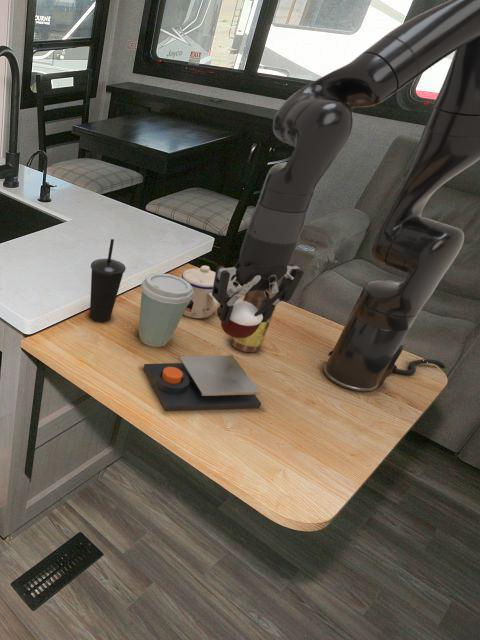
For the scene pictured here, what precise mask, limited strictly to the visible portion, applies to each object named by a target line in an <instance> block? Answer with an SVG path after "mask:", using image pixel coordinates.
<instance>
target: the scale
mask: <svg viewBox="0 0 480 640" xmlns="http://www.w3.org/2000/svg"><path fill="white" fill-rule="evenodd" d="M166 367H175V368H178V369H179V370H181V371H182V373H183V376H182V379H181V382H180V383H179V384H171V383H168V382H166V381H164V380H163V379H162V373H163V370H164V368H166ZM142 370H143V371H144V373H145V375H146V377H147V380H148V381H149V383H150V385H151V387H152V388H153V391H154V393H155V395H156V397H157V399H158V401H159V403H160V405H161V406H162V409H163V410H164V412H190V411H191V412H193V411H224V410H229V411H230V410H252V409H253V410H255V409H256V410H257V409H258V410H260V407H261V405H262V402H261V401H260V399H259V398H258V397H257V396H256V394H253V395H218V396H201V394H200V392H199V391H198V389H197V388H196V386H195V384H194V383H193V381H192V380H191V378H190V376H189V375H188V373H187V372H186V370H185V368H184V367H183V365H182V364H181V362H167V363H166V362H165V363H144V365H143V369H142Z"/></svg>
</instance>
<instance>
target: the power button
mask: <svg viewBox="0 0 480 640" xmlns="http://www.w3.org/2000/svg"><path fill="white" fill-rule="evenodd" d="M182 376H183V373H182V371H181V370H179V369H178V368H175V367H166V368H164V370H163V373H162V379H163V380H164V381H166V382H168V383H171V384H179V383H180V382H181V379H182Z"/></svg>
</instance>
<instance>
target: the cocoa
mask: <svg viewBox="0 0 480 640" xmlns="http://www.w3.org/2000/svg"><path fill="white" fill-rule="evenodd" d="M288 289H289V286H286V287H284V288H282V289H281V290H280V291H279V292H278V293H277V294H276V295H275V296H274V297H272V298H271V299H270V300H269V301H268V302H267V303H266V304H265V305H264V306H263V307H262V308H261V309H260V310H258V309H257V308H256V307H255V306H254V305H253V304H251V303H249V302H247V301H243V300H242V299H238V300H237V301H236V302H235V303H234V304H233V306H234V307H233V310H232V313H231V316H230V319H229V322H228V323H222V322H221V321H220V327H221V328H222V330H223V332H224V333H225V334H227V335H228V336H229V337H231V336H232V337H234V338H246V337H249V336H251V335H252V334H253V333H254V332H255V331H256V330H257V329H258V327H259V325H260V322H261V321H262V319H263V315H262V313H263V312H264V311H265V310H266V309H267V308H268V307H269V306H271V305H272V304H273V303H274V302H275V301H276V300H277V299H278V298H279V297H280V296H282V295H283V294H284V293H285V292H286V291H287V290H288ZM218 310H219V307H217V309H216V314H217V313H218ZM232 337H231V338H232Z"/></svg>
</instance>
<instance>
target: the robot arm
mask: <svg viewBox="0 0 480 640" xmlns="http://www.w3.org/2000/svg"><path fill="white" fill-rule="evenodd" d="M453 53H454V54H453ZM451 54H453V57H452V59H451V61H450V65H449V67H448V70H447V72H446V75H445V78H444V80H443V83H442V85H441V87H440V90H439V92H438V93H437V96H436V98H435V101H434V102H433V105H432V108H431V111H430V113H429V116H428V117H427V120H426V123H425V126H424V128H423V131H422V134H421V137H420V140H419V142H418V145H417V147H416V150H415V153H414V155H413V157H412V159H411V163H410V165H409V167H408V169H407V172H406V174H405V176H404V179H403V181H402V184H401V185H400V187H399V189H398V192H397V194H396V196H395V198H394V199H393V202H392V203H391V205H390V207H389V209H388V211H387V213H386V215H385V217H384V218H383V221H382V223H381V225H380V227H379V229H378V231H377V232H376V235H375V237H374V240H373V243H372V248H371V255H372V257H373V259H374V260H375V261H377V262H379V263H380V264H382V265H385V266H387V267H389V268H392V269H394V270H397V271H399V272H402V273H404V274H407V277H406V278H405V280H393V279H378V280H372V281H370V282H367V283H366V284H365V285H364V287H363V288H362V290H361V292H360V294H359V296H358V298H357V300H356V302H355V304H354V307H353V308H352V311H351V313H350V314H349V316H348V319H347V320H346V323H345V324H344V327H343V329H342V331H341V333H340V335H339V337H338V339H337V341H336V343H335V345H334V347H333V349H332V350H330V351H329V353H328V355H327V357H328V360H327V362H326V363H325V365H324V366H323V373H324V375H325V376H326V377H327V379H329V380H330V381H331V382H333V383H335V384H336V385H338V386H340V387H342V388H345V389H348V390H350V391H354V392H355V391H357V392H365V393H366V392H372V391H374V390H376V389H377V388H378V387H382V386H383V384H384V383H385V381H386V380H387V378H388V377H390V376H391V374H392V372H393V373H396V374H399V375H413V374H415V373H416V371H417V369H416V367H415V366H416V365H423V364H431V365H436V366H438V367H439V368H441V369H446V368H447V367H446V365H445V363H443V362H442V361H439V360H436V359H430V358H429V359H427V358H424V359H423V358H422V359H416V360H413V361H410V362H409V363H408V368H409V369H400V368H398V366H397V365H396V362H397V361H398V359H399V357H400V355H401V354H402V352H403V351H404V345H403V344H402V343H403V341H404V340H405V338H406V336H407V334H408V333H409V331H410V329H411V327H412V325H413V324H414V322H415V320H416V319H417V317H418V315H419V314H420V312H421V311H422V309H423V307H424V306H425V304H426V303H427V301H428V300H429V299H430V298H431V297H432V295H433V293H434V291H435V290H436V289H437V287H438V285H439V283H440V282H441V281H442V279H443V277H444V276H445V274H446V273H447V271H449V269H450V268H451V266H452V265H453V263H454V261H455V259H457V257H458V255H459V253H460V251H461V249H462V247H463V244H464V242H465V234H464V231H463V230H462V229H461V228H459V227H456V226H454V225H453V226H452V225H451V224H447V223H444V222H440V221H437V220H435V219H431V218H429V217H425V216H422V215H423V214H422V213H423V210H424V209H425V206H426V204H427V203H428V201H429V200H430V198H431V197H432V196H433V194H434V193H435V192H436V191H437V190H438V189H440V188H441V187H442V186H443V185H444V184H446V183H447V182H448V181H450V180H451V179H453V178H454V177H456V176H457V175H459V174H461V172H463V171H464V170H466V169H468V168H469V167H472V165H474V164H475V163H476V162H478V161H480V0H447V1H444V2H443V3H441V4H439V5H436V6H433V7H432V8H430V9H428V10H426V11H424V12H421V13H419V14H418V15H416V16H414V17H412V18H410V19H408V20H407V21H405V22H403V23H402V24H400V25H398V26H396V27H395V28H394V29H392V30H391V31H389V32H388V33H386V34H385V35H384V36H382V37H381V38H380V39H379V40H377V41H376V42H375V43H374V44H372V45H371V46H369V47H367V49H365V50H364V51H363V52H362V53H361V54H359V55H358V56H357V57H355V58H354V59H353V60H352V61H351V62H348V63H347V64H345V65H343V66H342V67H340V68H337V69H335V70H333V71H331V72H329V73H327V74H325V75H324V76H322V77H320V78H317V79H316V80H314V81H312V82H310V83H309V84H307V85H305V86H304V87H302V88H300V89H299V90H297V91H295V92H294V93H293V94H292V95H290V96H289V97H288V98H287V99H286V100H285V101H284V102H283V103H282V105H280V107H279V108H278V110H277V111H276V113H275V115H274V118H273V121H272V131H273V134H274V136H275V137H276V138H277V139H278V140H279V141H280V142H282V143H284V144H285V145H286V144H287V145H289V146H292V147H293V148H294V150H293V152H292V154H291V156H290V157H289V159H288V161H286V162H279V163H276V164H274V165H273V166H272V167H270V169H269V170H268V172H267V174H266V175H265V179H264V181H263V184H262V188H261V189H260V190H261V191H260V193H259V198H258V199H257V203H256V205H255V206H254V209H253V211H252V214H251V216H250V220H249V222H248V225H247V228H246V232H245V235H244V237H243V241H242V244H241V247H240V251H239V258H238V261H237V262H236V263H235V265H234V266H231V267H224V266H223V265H219V266H217V267H216V269H215V272H216V274H215V279H214V285H213V290H212V296H213V297H214V298H215V299H216V300H217V302H218V304H219V306H218V308H219V310H218V313H217V312H216V315H217V318H218V319H219V321H220V323H221V322H222V323H228V322H229V319H230V316H231V313H232V310H233V307H234V306H233V304H234V303H235V302H236V301H237V300H240V298H243V297H245V294H246V293H247V292H248V291H254V290H260V291H264V295H265V297H266V299H263V300H262V302H261V305H260V308H259V310H260V309H261V308H262V307H263V306H264V305H265V304H266V303H267V302H268V301H269V300H270V299H271V298H272V297H274V296H275V295H276V294H277V293H278V292H279V291H280V290H281V289H282V288H284V287H286V286H289V289H288V290H287V291H286V292H285V293H284V294H283V295H282V296H280V297H279V298H278V299H277V300H276V301H275V302H274V303H273V304H272V305H271V306H269V307H268V308H267V309H266V310H265V311H264V312H263V313H262V315H263V319H262V321H261V322H267V320H268V319H270V317H271V315H272V313H273V314H274V312H273V310H274V308H275V309H276V307H275V305H276V306H277V305H278V304H279V303H280V302H285V303H286V302H289V301H290V300H291V299H292V297H293V295H294V293H295V291H296V289H297V287H298V286H299V283H300V281H301V279H302V277H303V275H304V273H305V272H304V270H303V269H301V268H300V267H299V266H298V265H296V264H295V263H292V264H291V261H292V258H293V256H294V253H295V251H296V248H297V246H298V243H299V241H300V237H301V235H302V232H303V230H304V227H305V224H306V221H307V215H308V212H309V210H310V209H309V208H310V206H311V203H312V201H313V199H314V196H315V194H316V190H317V188H318V184H319V183H320V181H321V180H322V179H323V177H324V176H325V174H326V173H327V172H328V171H329V170H330V168H331V166H332V165H333V163H334V162H335V161H336V159H337V158H338V156H339V155H340V153H341V152H342V150H343V149H344V147H345V146H346V144H347V143H348V141H349V140H350V139H349V138H350V137H351V134H352V131H353V126H354V114H353V109H355V108H369V107H374V106H377V105H379V104H381V103H383V102H384V101H386V100H387V99H389V98H390V97H392V96H393V95H395V94H396V93H398V91H400V90H402V89H403V88H405V87H406V86H407V85H408V84H410V83H411V82H413V81H414V80H415V79H417V78H418V77H419V76H420V75H422V74H424V73H425V72H426V71H428V70H429V69H431V68H432V67H433V66H435V65H436V64H438V63H439V62H440V61H442V60H443V59H445V58H447V57H448V56H450V55H451ZM289 264H290V265H289ZM234 276H235V277H234ZM233 277H234V278H233ZM232 278H233V279H232ZM280 279H281V281H280ZM278 281H280V283H279V285H278ZM239 286H241V287H239ZM274 311H275V310H274ZM272 316H273V315H272ZM423 360H424V361H423ZM427 362H428V363H427Z"/></svg>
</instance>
